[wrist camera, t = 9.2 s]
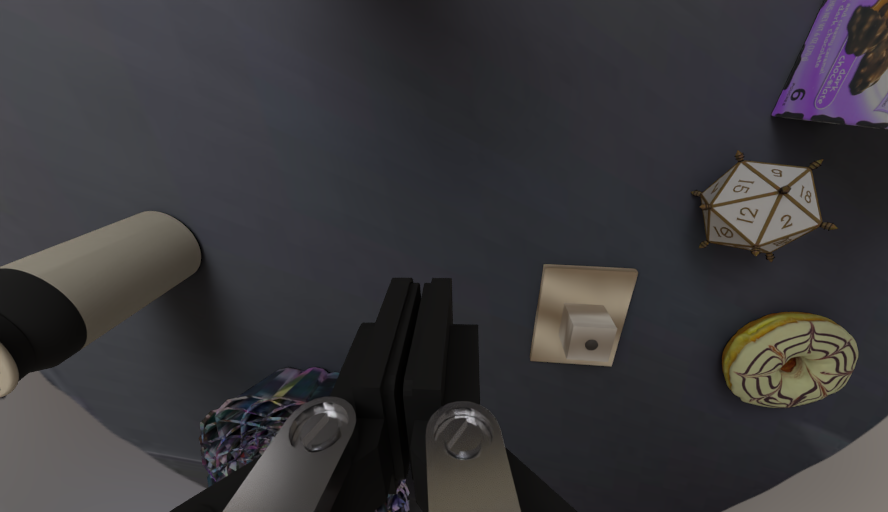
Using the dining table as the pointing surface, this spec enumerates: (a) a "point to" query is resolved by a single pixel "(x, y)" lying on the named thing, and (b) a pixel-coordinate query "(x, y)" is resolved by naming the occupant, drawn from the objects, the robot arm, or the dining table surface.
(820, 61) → the candy box
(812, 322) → the decorated donut
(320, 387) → the decorative bowl
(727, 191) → the game die
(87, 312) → the travel mug
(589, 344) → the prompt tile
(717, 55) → the dining table surface
